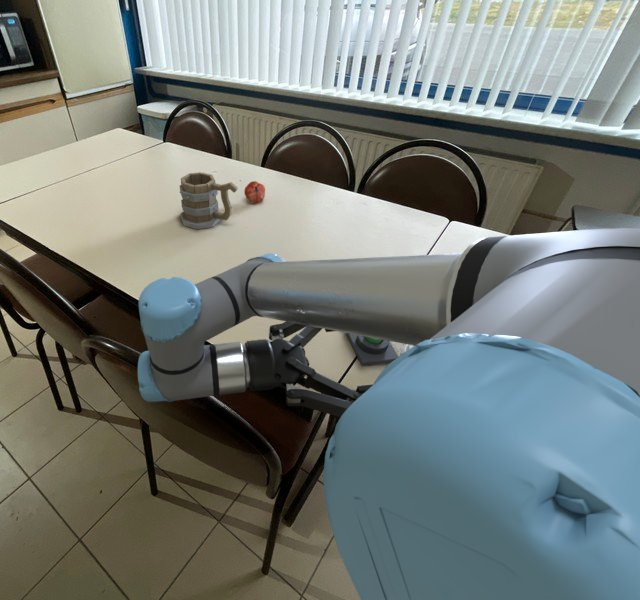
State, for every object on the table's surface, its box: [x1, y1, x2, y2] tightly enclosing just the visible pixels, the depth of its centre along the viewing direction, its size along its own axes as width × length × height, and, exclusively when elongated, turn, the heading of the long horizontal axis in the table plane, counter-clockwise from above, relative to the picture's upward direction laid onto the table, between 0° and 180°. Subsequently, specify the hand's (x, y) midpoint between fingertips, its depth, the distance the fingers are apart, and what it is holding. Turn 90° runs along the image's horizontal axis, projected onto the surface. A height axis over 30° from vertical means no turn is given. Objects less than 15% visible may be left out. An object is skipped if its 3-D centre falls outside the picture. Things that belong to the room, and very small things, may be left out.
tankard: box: [179, 171, 239, 230], centre depth 116 cm, size 20×13×15 cm, turn 61°
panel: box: [345, 333, 399, 367], centre depth 79 cm, size 10×8×3 cm
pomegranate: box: [243, 180, 266, 204], centre depth 130 cm, size 7×7×10 cm
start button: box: [365, 337, 382, 345], centre depth 78 cm, size 4×4×2 cm
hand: (380, 352), depth 57 cm, fingers open, 13 cm apart
